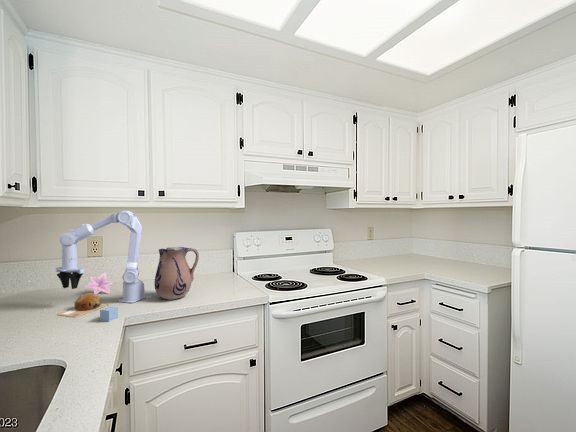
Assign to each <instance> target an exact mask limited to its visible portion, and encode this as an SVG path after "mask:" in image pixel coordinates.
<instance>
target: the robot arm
mask: <svg viewBox="0 0 576 432" xmlns="http://www.w3.org/2000/svg"><path fill="white" fill-rule="evenodd" d="M117 223H120V224H121V225H123V226H126V228H127V229H128V230H130V236H129V244H128V253H127V261H126V265H125V270H124V273H123V274H122V299H119V300H118V302H119V303H129V304H132V303H135V302H138V301H141V300H143V299H145V298H146V297H147V296H145V283H144V282H143V280H140V279H139V278H138V277H140V270H139V255H140V247H141V239H142V230H143V226H142V224H141V223H140V221H139V219H138V217H137V215H136V214H135V213H133V211H131V210H120V211H119V212H116V213H112V214H110V215H107V216H106V217H104V218H102V219H100V220H98V221H95V222H94V223H92V224H89V223H81V224H80V226H79V227H77V228H74V229H69V232H64V233H63V234H62V235H60V237H59V242H60V244H61V266H59V267H55V272H56V276H57V278H58V279H59V280H60V282H61V285H62V289H67V288H70V287H71V290H74V289H78V287H79V282H80V281H81V278H82V276H83V274H85V268H83V267H78V242H80V241H83V240H85V239H87V238H90V237H91V236H93V235H95V231H97V230H98V229H102V228H103V227H106V226H108V225H110V224H117ZM58 272H59V273H58ZM70 284H71V286H70Z"/></svg>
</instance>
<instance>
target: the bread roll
mask: <svg viewBox="0 0 576 432" xmlns="http://www.w3.org/2000/svg"><path fill="white" fill-rule="evenodd" d="M101 304H102V299H101V297H100V296H99V295H98V294H97V295H96V294H94V292H89V293H85V294H82V295H80V296H79V297H78V298H77V299H76V300H75V302H74V308H75V309H76V310H79V311H87V310H92V309H95V308H98V307H99V306H100V305H101Z"/></svg>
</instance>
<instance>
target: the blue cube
mask: <svg viewBox="0 0 576 432" xmlns="http://www.w3.org/2000/svg"><path fill="white" fill-rule="evenodd" d="M116 319H119V307H118V306H112V305H111V306H110V305H108V306H105V307H102V308H100V309H99V321H101V322H108V323H110V322H112V321H114V320H116Z"/></svg>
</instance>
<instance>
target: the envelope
mask: <svg viewBox="0 0 576 432" xmlns="http://www.w3.org/2000/svg"><path fill="white" fill-rule="evenodd" d="M106 307H108V304H106V303H101V305H100V306H99V307H98V308H95V309H92V310H87V311H79V310H76V309H75V307H74V308H70V309H68V310H66V311H63V312H61V313H57V314H56V316H62V317H69V318H70V317H71V318H77V317H81V316H83V315H85V314H88V313H92V312H94V311H97V310H100V309H103V308H106Z"/></svg>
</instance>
